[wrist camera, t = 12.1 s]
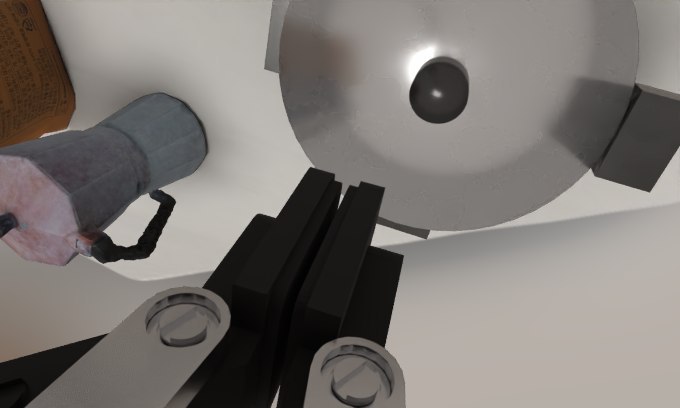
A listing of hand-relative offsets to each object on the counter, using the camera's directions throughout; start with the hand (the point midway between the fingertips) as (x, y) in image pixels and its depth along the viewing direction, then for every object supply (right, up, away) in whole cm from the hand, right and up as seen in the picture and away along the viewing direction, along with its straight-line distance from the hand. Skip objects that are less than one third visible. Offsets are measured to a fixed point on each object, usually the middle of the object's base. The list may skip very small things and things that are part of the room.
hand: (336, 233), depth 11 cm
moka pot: (-17, +8, +39) cm, 43 cm away
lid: (+7, +8, +17) cm, 20 cm away
